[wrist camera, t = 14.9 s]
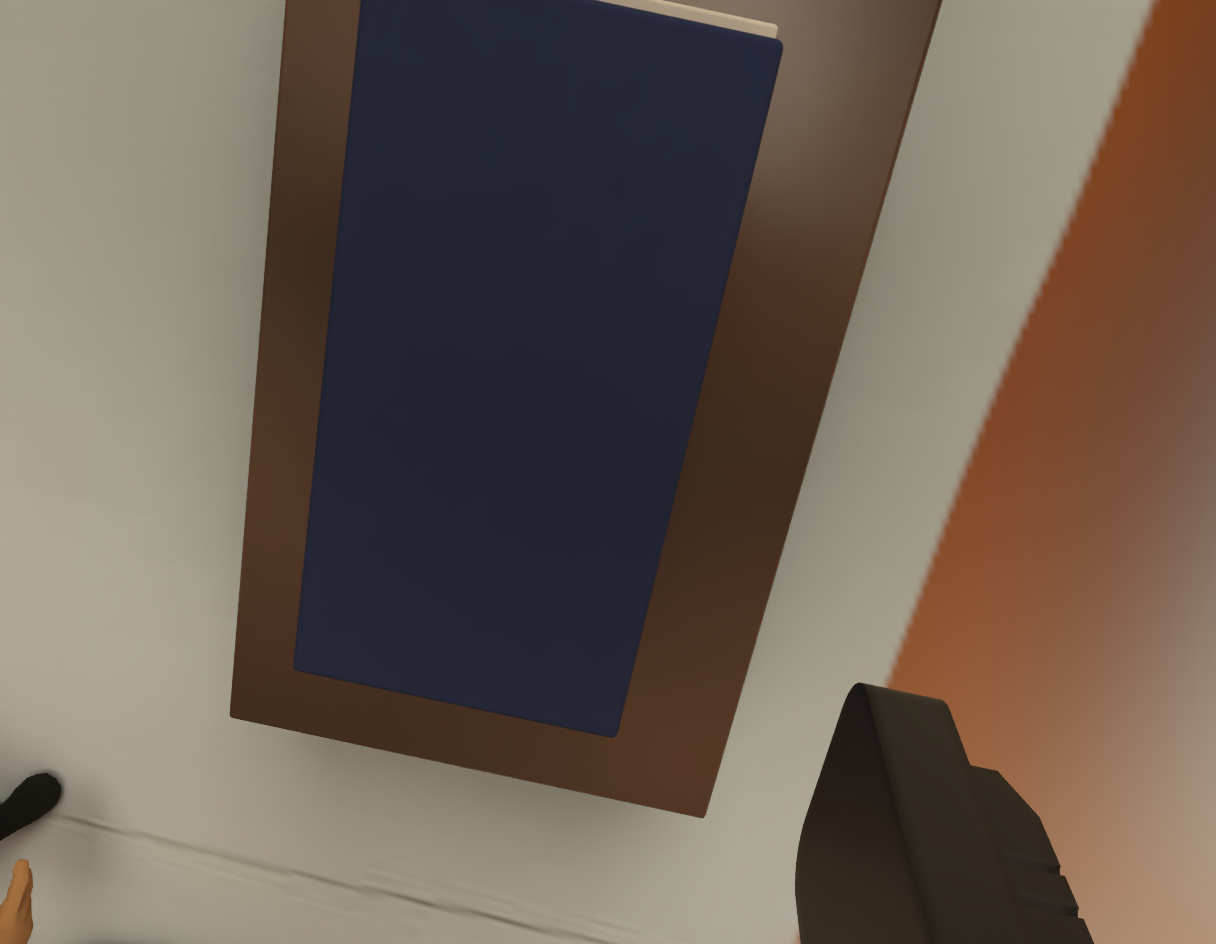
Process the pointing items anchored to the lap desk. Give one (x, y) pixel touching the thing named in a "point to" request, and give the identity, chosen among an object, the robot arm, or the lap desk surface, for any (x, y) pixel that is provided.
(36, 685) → the lap desk surface
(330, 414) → the navy rectangular block
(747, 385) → the shelf
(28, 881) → the action figure
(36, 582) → the lap desk surface
